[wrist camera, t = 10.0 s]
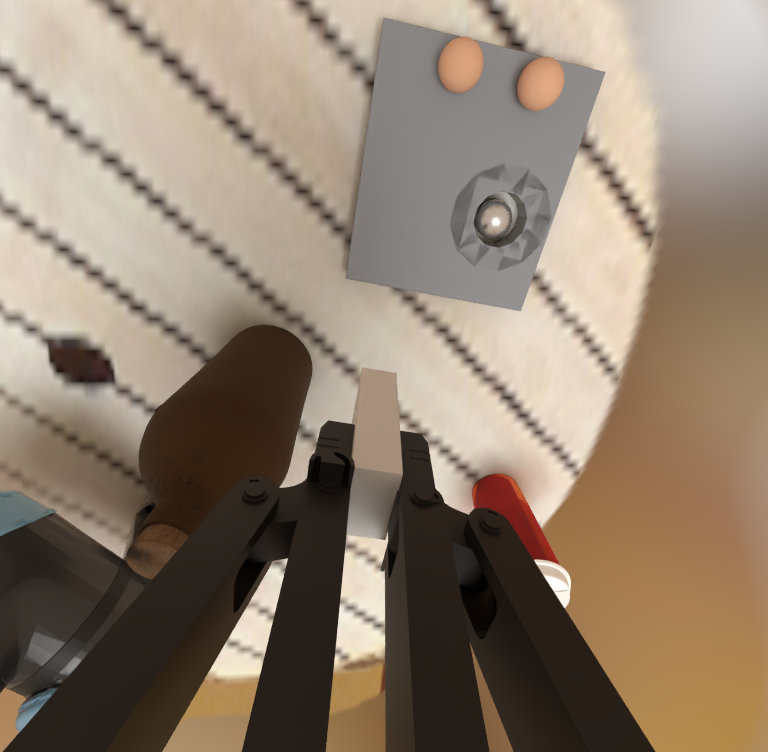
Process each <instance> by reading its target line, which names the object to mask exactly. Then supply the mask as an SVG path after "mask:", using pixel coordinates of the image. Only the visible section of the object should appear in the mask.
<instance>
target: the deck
mask: <svg viewBox="0 0 768 752" xmlns="http://www.w3.org/2000/svg"><path fill="white" fill-rule="evenodd" d="M458 37H460V36H456V35H452V34H448V33H444V32H440V31H436V30H432V29H428V28H424V27H420V26H415V25H411V24H407V23H403V22H399V21H395V20H391V19H387V18H383V25H382V32H381V39H380V46H379V53H378V60H377V67H376V73H375V80H374V87H373V94H372V101H371V108H370V115H369V122H368V128H367V135H366V142H365V149H364V156H363V163H362V170H361V176H360V183H359V190H358V197H357V204H356V211H355V218H354V225H353V231H352V238H351V245H350V252H349V259H348V266H347V273H346V279H351V280H356V281H362V282H367V283H372V284H378V285H383V286H388V287H394V288H399V289H405V290H410V291H415V292H421V293H426V294H431V295H437V296H442V297H447V298H453V299H458V300H463V301H469V302H474V303H480V304H485V305H490V306H496V307H501V308H506V309H512V310H517V311H521V309H522V306H523V303H524V300H525V298H526V295H527V292H528V289H529V286H530V284H531V281H532V278H533V275H534V272H535V269H536V267H537V264H538V261H539V258H540V255H541V253H542V250H543V247H544V244H545V241H546V238H547V236H548V233H549V230H550V227H551V224H552V222H553V219H554V216H555V213H556V210H557V207H558V205H559V202H560V199H561V196H562V193H563V190H564V188H565V185H566V182H567V179H568V176H569V174H570V171H571V168H572V165H573V162H574V159H575V157H576V154H577V151H578V148H579V145H580V143H581V140H582V137H583V134H584V131H585V128H586V126H587V123H588V120H589V117H590V114H591V112H592V109H593V106H594V103H595V100H596V97H597V95H598V92H599V89H600V86H601V83H602V81H603V78H604V75H605V72H603V71H599V70H595V69H591V68H587V67H583V66H579V65H575V64H571V63H566V62H562V61H558V60H557V61H558V62H559V63H560V65H561V66H562V68H563V71H564V85H563V89H562V92H561V94H560V96H559V97H558V99H557V100H556V101H555V102H554V103H553V104H552V105H551V106H549V107H548V108H546V109H544V110H540V111H531V110H529V109H527V108H525V107H524V106H523V105H522V104H521V102H520V100H519V98H518V93H517V86H518V81H519V78H520V76H521V74H522V72H523V70H524V69H525V68H526V67H527V65H528V64H530V63H531V62H532V61H534V60H536V59H538V58H541V57H542V56H538V55H534V54H530V53H526V52H522V51H518V50H513V49H509V48H505V47H501V46H497V45H493V44H489V43H485V42H481V41H477V40H475V41H476V42H477V43H478V44H479V46H480V48H481V50H482V52H483V57H484V66H483V71H482V74H481V77H480V79H479V80H478V82H477V83H476V84H475V86H474V87H472V88H471V89H470V90H468V91H466V92H463V93H454V92H451V91H449V90H448V89H447V88H446V87H445V86H444V85H443V84H442V82H441V80H440V77H439V72H438V65H439V59H440V56H441V53H442V51H443V50H444V48H445V47H446V46H447V44H448V43H449V42H451V41H452V40H454V39H456V38H458ZM500 191H503V192H507V193H508V194H509V195H510V196H511V197H512V198H513V199H514V200H515V201H516V203H517V209H518V214H519V216H518V219H517V222H516V225H515V229H514V230H513V231H512V232H511V233H510V234H509V235H508V236H507V237H506V238H505V239H503V240H501V241H498V242H495V243H488V242H483V241H481V240H480V239H479V238H478V237H477V235H476V231H475V227H474V223H473V222H474V219H475V215H476V211H477V208H478V207H479V205H480V204H481V203H482V202H483V201H484V200H485V199H486V198H487V197H488V196H490V195H492V194H495V193H498V192H500Z"/></svg>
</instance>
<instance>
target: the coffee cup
mask: <svg viewBox="0 0 768 752" xmlns="http://www.w3.org/2000/svg"><path fill="white" fill-rule="evenodd" d="M472 496H473V503H474V509H476V508H480V507H483V508H490V509H492V510H495V511H497V512H499V513H500V514H502V515H503V516H505V517H506V519H507V520H508V521H509V522H510V523H511V525H512V526H513V528H514V529H515V531H516V533H517V534H518V536H519V537H520V539H521V540H522V542H523V544H524V545H525V547H526V548H527V550H528V552H529V553H530V555H531V556H532V558H533V559H534V561H535V563H536V564H537V566H538V567H539V569H540V570H541V572H542V574H543V575H544V577H545V578H546V580H547V582H548V583H549V585H550V586H551V588H552V589H553V591H554V593H555V594H556V596H557V597H558V599H559V600H560V602H561V604H562V605H563V607H564V608H565V607H566V606H567V604H568V603H569V599H570V585H571V581H570V577H569V574H568V573H567V571H566V570H565V569H564V568H563V567H561V566H560V565H559V563H558V560H557V559H556V557H555V555H554V553H553V551H552V549H551V547H550V545H549V543H548V541H547V539H546V537H545V536H544V534H543V532H542V530H541V528H540V526H539V524H538V522H537V520H536V518H535V516H534V514H533V513H532V511H531V509H530V507H529V505H528V503H527V501H526V499H525V497H524V496H523V494H522V492H521V490H520V488H519V487H518V485H517V483H516V482H515V481H514V480H513V479H512V478H511V477H509V476H507V475H503V474H493V475H489V476H486V477H484V478H482V479H481V480H479V481H478V482H477V483H476V484H475V486H474V488H473V492H472Z"/></svg>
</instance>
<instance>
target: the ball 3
mask: <svg viewBox="0 0 768 752" xmlns="http://www.w3.org/2000/svg"><path fill="white" fill-rule="evenodd" d="M563 85H564V71H563V68H562V66H561V65H560V63H559V62H558V61H557V60H555V59H553V58H551V57H541V58H538V59H536V60H534V61H532V62H531V63H530V64H528V65H527V67H526V68H525V69H524V70H523V72H522V74H521V76H520V78H519V81H518V86H517V93H518V98H519V100H520V102H521V104H522V105H523V106H524V107H525V108H527V109H529V110H531V111H540V110H544V109H546V108H548V107H549V106H551V105H552V104H553V103H554V102H555V101H556V100H557V99H558V97H559V96H560V94H561V92H562V89H563Z"/></svg>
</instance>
